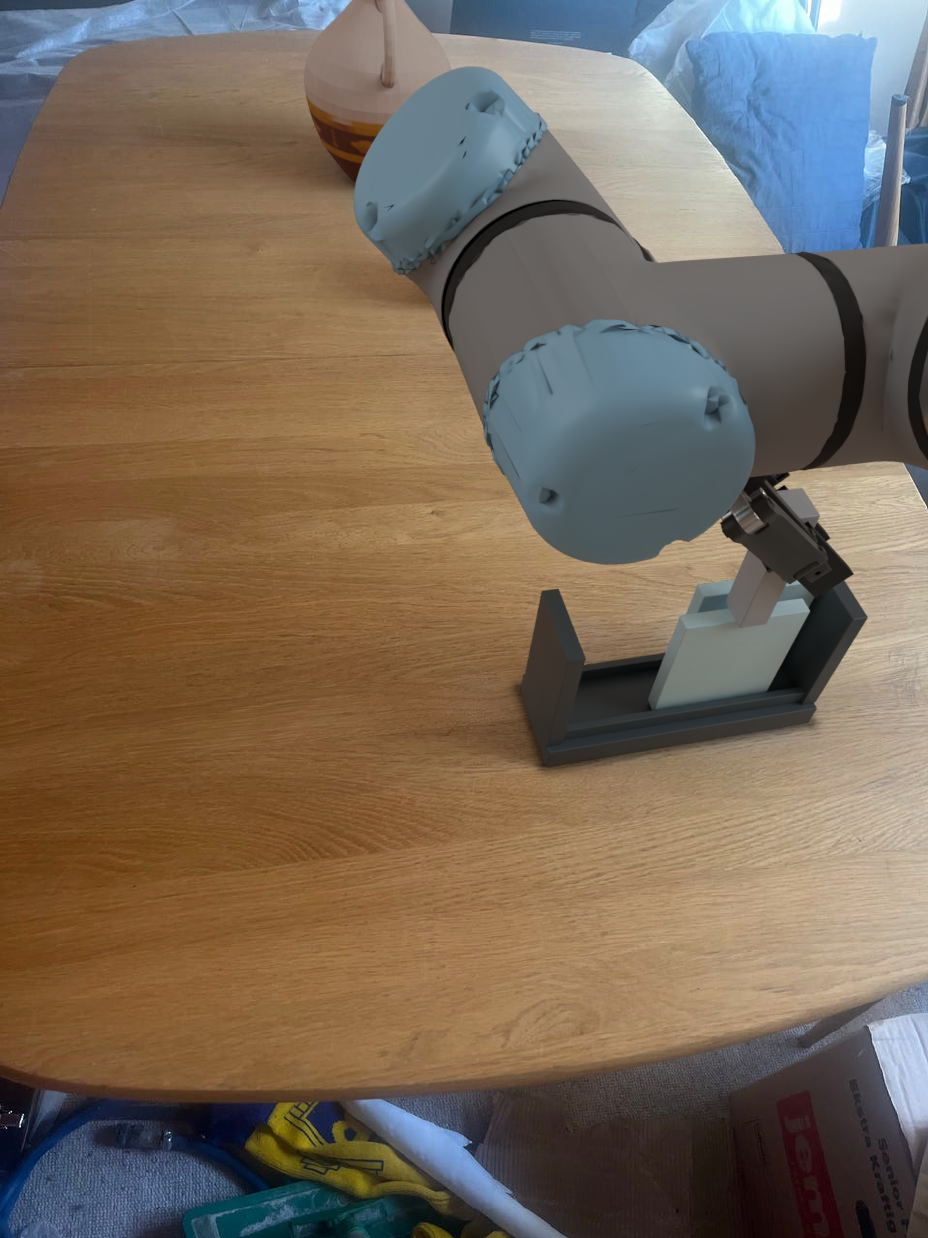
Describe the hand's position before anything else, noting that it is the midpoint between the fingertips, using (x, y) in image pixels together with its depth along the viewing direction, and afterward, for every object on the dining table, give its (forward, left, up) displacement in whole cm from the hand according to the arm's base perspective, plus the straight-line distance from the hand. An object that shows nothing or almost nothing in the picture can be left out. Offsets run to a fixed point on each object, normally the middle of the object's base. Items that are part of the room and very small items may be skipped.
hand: (820, 563), depth 61 cm
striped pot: (+86, +13, -16) cm, 89 cm away
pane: (0, +4, -14) cm, 14 cm away
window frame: (+1, +6, -16) cm, 17 cm away
